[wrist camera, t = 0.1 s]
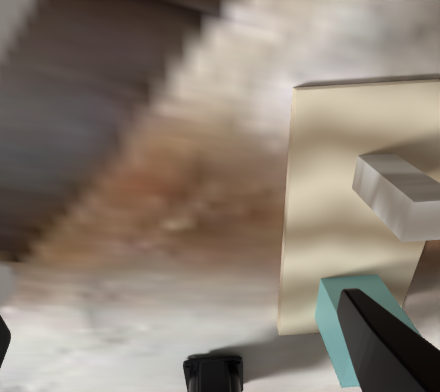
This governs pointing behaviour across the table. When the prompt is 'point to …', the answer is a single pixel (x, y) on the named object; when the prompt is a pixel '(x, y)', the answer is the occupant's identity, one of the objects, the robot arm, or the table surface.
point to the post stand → (358, 189)
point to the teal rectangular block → (330, 322)
